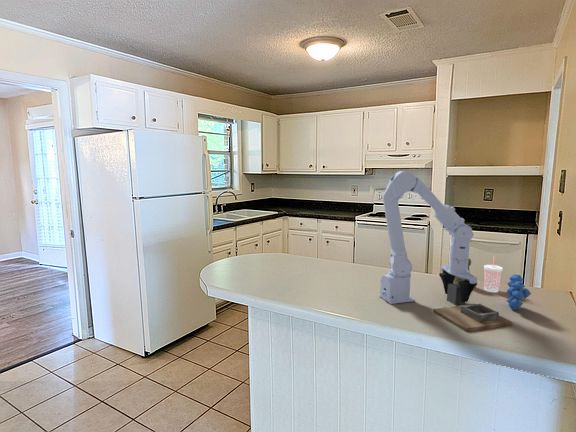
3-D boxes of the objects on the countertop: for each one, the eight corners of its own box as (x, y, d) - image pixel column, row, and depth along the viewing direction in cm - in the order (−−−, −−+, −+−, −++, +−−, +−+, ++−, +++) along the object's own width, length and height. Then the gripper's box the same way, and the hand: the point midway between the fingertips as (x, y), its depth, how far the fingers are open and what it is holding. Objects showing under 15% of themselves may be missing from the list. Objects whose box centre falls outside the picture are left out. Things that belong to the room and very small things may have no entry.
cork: (472, 288, 134) (474, 259, 133) (455, 286, 136) (457, 258, 134) (468, 282, 140) (470, 255, 139) (451, 281, 142) (453, 254, 140)
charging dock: (466, 331, 99) (467, 321, 99) (433, 312, 112) (433, 303, 112) (511, 324, 103) (512, 315, 103) (474, 306, 117) (475, 297, 116)
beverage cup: (494, 287, 135) (497, 251, 133) (504, 293, 129) (507, 255, 127) (478, 287, 135) (481, 251, 133) (488, 293, 129) (491, 255, 127)
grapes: (534, 319, 107) (538, 280, 106) (508, 315, 110) (511, 277, 108) (525, 305, 118) (528, 270, 116) (501, 302, 121) (504, 267, 119)
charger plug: (455, 305, 118) (456, 284, 117) (446, 300, 122) (448, 280, 121) (465, 303, 119) (466, 283, 118) (456, 299, 123) (457, 280, 122)
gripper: (486, 263, 113) (482, 304, 115) (453, 252, 126) (450, 289, 128) (467, 264, 111) (464, 306, 113) (436, 253, 125) (434, 291, 126)
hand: (456, 297), depth 120 cm, fingers open, 7 cm apart
